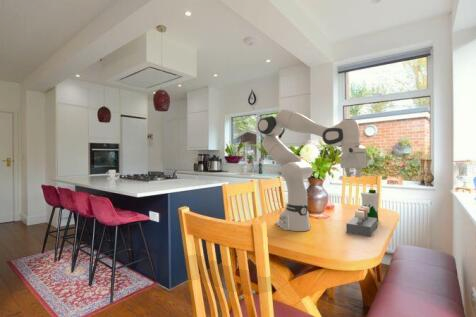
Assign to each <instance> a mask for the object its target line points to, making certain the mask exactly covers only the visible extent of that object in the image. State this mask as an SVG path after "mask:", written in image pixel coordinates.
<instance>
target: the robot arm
mask: <svg viewBox="0 0 476 317" xmlns="http://www.w3.org/2000/svg"><path fill="white" fill-rule="evenodd" d="M257 130H258V131H259V133H261V134H262V135H264V136H265V137H264V138H263V139H262V143H261V144H262V147H263V148H264V150H265V152H266V153H267V154H268V155H269V156H270V158H272V160H273V161H274V162H275V163H276V164H277V165H279V166H281V170H280V174H281V177H282V178H283V179H284V181H285V184H286V188H287V203H286V204H285V207H286V208H285V209H284V211H283V212H281V213H280V214H279V218H278V220H277V221H275V223H274V224H275V225H277V226H278V227H279V226H280V227H279V228H281V229H282V230H284V231H292V232H293V231H294V232H307V231H310V230H311V227H312V225H311V224H310V214H309V212H308V211H309V204H308V190H307V189H306V187H305V182H304V180H307V179H309V178H310V177H311V176H312V175H313V173H314V169H313V166H312V165H311V164H310V163H308V162H307V161H305V160H303V159H302V158H301V157H299V155H297V154H295V153H294V152H293V151H292V150H290V148H288V147H287V146H286V145H285V144H284V143H283V142H282V141H281V139H282V137H283V135H284V134H285V131H286V130H289V131H291V132H294V133H295V132H296V133H300V134H308V135H309V134H312V135H315V136H318V137H320V138H321V139H322V141H323V142H324V144H326V145H329V146H332V147H337V148H341V153H342V154H340V168H341V169H344V171H345V175H346V177H347V178H350V177H352V173H351V171H350V170H351V169H355V170H356V173H355V177H356V178H361V176H362V175H361V173H362V169H363V168H366V167H367V164H368V162H367V160H368V158H367V148H366V147H365V146H363V145H361V141H360V135H361V134H360V126H359V122H358V121H357V120H356V119H353V118H344V119H342V120H340V121H339V122H338V123H336V124H334V125H333V126H331V127H327V126H326V125H325V126H324V125H321V124H318V122H317V123H316V122H315V121H313V120H312V119H310V118H308V117H307V116H306V115H303V114H301V113H299V112H296V111H294V110H288V109H281V110H279V111H278V113H277V114H276V116H275V117H274V116H273V115H271V116H270V115H269V116H266V117H263V118H260V119H259V120H258V122H257Z"/></svg>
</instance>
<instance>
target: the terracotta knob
mask: <svg viewBox="0 0 476 317" xmlns="http://www.w3.org/2000/svg"><path fill="white" fill-rule="evenodd" d="M357 211H363V212H364V215H367V209H362V208H361V207H360V208H358V209H357ZM362 221H364V218H362Z"/></svg>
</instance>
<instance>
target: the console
mask: <svg viewBox="0 0 476 317" xmlns="http://www.w3.org/2000/svg"><path fill="white" fill-rule="evenodd" d="M345 227H346V229H345V230H346V233H348V234H353V235H354V234H355V235H360V236H366V237H372V235H373V234H374V232H375V231H376V229H377V227H378V221H377V218H372V217H367V219H365V218H364V221H362V224H358V218H357V217H355V216H353V217H352V218H351V219H350V220H349V221H347V222H346V224H345Z"/></svg>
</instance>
